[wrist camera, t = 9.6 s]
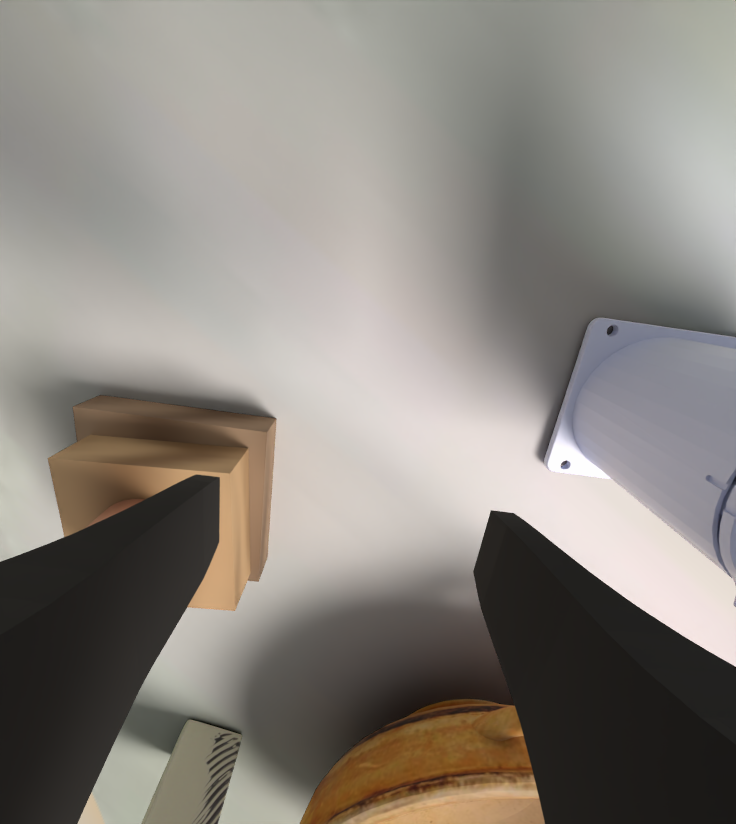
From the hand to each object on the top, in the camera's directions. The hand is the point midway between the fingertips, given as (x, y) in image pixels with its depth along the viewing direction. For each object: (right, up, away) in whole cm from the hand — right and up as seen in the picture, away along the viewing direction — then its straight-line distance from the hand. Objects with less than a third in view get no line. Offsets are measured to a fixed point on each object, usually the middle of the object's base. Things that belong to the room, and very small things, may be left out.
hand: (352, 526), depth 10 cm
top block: (-9, -2, +9) cm, 13 cm away
